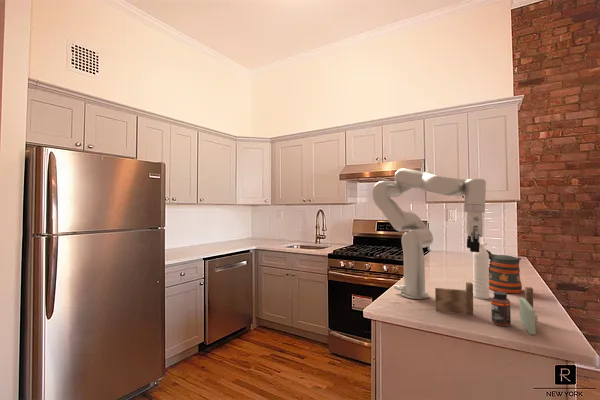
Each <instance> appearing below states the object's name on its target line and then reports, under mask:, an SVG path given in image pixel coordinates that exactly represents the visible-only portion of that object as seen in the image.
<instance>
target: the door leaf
mask: <svg viewBox="0 0 600 400" xmlns="http://www.w3.org/2000/svg"><path fill="white" fill-rule="evenodd" d="M518 299H519V319H520V321H521V323H522V324H523V326H524V327H525V329H526V330H527V331H528V332H527V333H529V335H536V322H538V321H539V318H538V314H536V310H535V309H534V307H533V308H532V306H531V305H530V304H529V303H528V302H527V301H526V299H525V297H519V298H518Z"/></svg>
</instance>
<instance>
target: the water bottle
mask: <svg viewBox="0 0 600 400" xmlns="http://www.w3.org/2000/svg"><path fill="white" fill-rule="evenodd" d="M487 245H488V242H480V247H479V252H472V274H473V275H472V278H473V279H472V282H473V283H472V284H473V298H477V299H479V300H480V299H482V300H487V299H490V289H489V264H490V259H489V254H488V252H487V251H486V250H487V249H486V248H485V247H484V246H487Z"/></svg>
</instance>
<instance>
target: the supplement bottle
mask: <svg viewBox="0 0 600 400" xmlns="http://www.w3.org/2000/svg"><path fill="white" fill-rule="evenodd" d="M507 295H508V293H505V292H500V291H494V292H493V297H491V298H490V304H491V306H490V309H491V310H490V311H491V312H490V314H491V323H492V324H494V325H496V326H500V327H510V325H511V323H512V320H511V314H512V313H511V301H510V300H509V298H508V296H507Z"/></svg>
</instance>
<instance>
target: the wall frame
mask: <svg viewBox="0 0 600 400" xmlns="http://www.w3.org/2000/svg"><path fill="white" fill-rule="evenodd" d="M473 287H474V286H473V283H472V282H465V289H455V288H441V287H435V288H434V289H435V291H434V292H435V293H434V294H435V297H434V298H435V299H434V300H435V301H434V302H435V312H440V313H449V314H450V313H451V314H460V315H461V314H462V315H468V316H474V296H473V291H474V290H473ZM524 298H525V299H526V301H527V302H528V303H529V304H530V305H531V306H532V308H533V309H534V288H533V287H532V286H531V287H530V286H524Z"/></svg>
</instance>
